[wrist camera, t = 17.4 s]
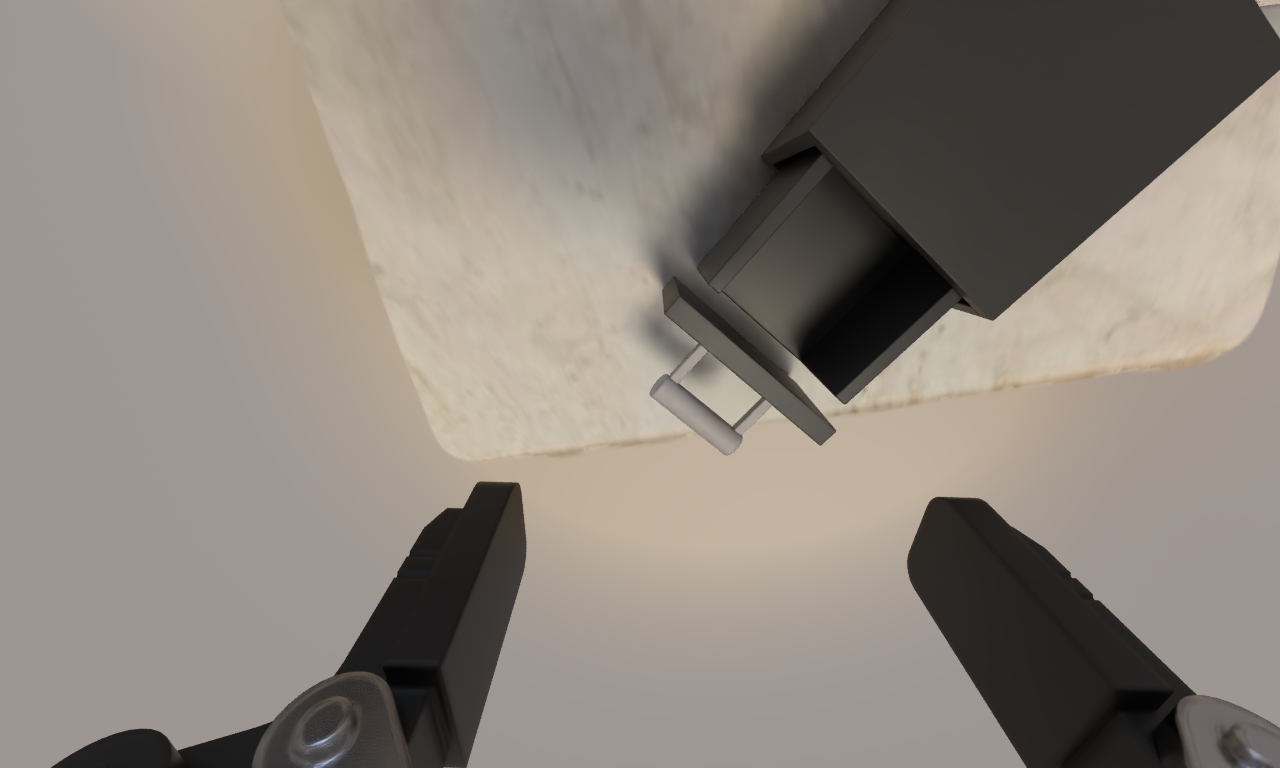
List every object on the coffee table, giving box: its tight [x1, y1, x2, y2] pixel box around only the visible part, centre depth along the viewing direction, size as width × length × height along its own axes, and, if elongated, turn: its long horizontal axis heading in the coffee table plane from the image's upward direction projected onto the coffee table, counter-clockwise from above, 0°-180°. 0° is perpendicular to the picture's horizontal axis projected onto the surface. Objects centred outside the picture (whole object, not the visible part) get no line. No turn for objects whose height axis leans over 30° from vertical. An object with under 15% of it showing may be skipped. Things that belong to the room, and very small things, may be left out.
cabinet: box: [761, 0, 1280, 321], centre depth 23 cm, size 14×13×10 cm
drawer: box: [650, 146, 963, 455], centre depth 27 cm, size 17×11×8 cm
